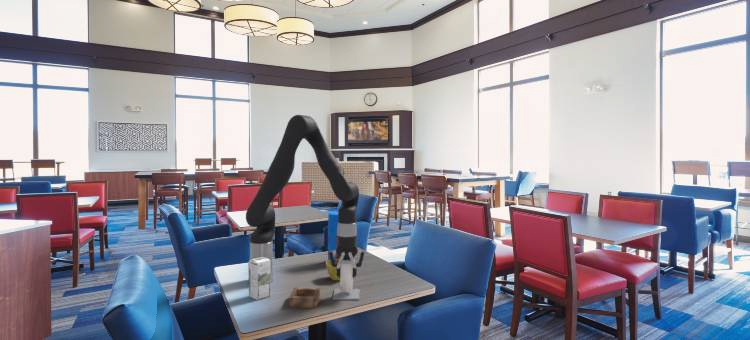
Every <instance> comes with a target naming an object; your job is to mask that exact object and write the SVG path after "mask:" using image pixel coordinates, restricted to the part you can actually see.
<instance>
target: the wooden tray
mask: <svg viewBox="0 0 750 340" xmlns="http://www.w3.org/2000/svg"><path fill="white" fill-rule="evenodd" d="M320 299H321V288H320V287H294V288H293V289H292V291H291V293H290V294H289V296H288V308H289V309H290V308H297V309H298V308H304V309H305V308H307V309H308V308H309V309H310V308H314V309H315V308H317V309H318V305H319V302H320Z"/></svg>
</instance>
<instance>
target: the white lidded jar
mask: <svg viewBox="0 0 750 340" xmlns="http://www.w3.org/2000/svg"><path fill="white" fill-rule="evenodd" d="M339 289H340V291H342V292H350V291H352V290H353V289H354V278H353V265H352V260H341V265H340V280H339Z"/></svg>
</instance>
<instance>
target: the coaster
mask: <svg viewBox="0 0 750 340" xmlns="http://www.w3.org/2000/svg"><path fill="white" fill-rule="evenodd" d="M360 290H361V289H360V288H353V290H352V291H350V292H342V291H340V288H334V289H333V291H334V292H333V296H332V300H333V301H360V293H361V292H360Z"/></svg>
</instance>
